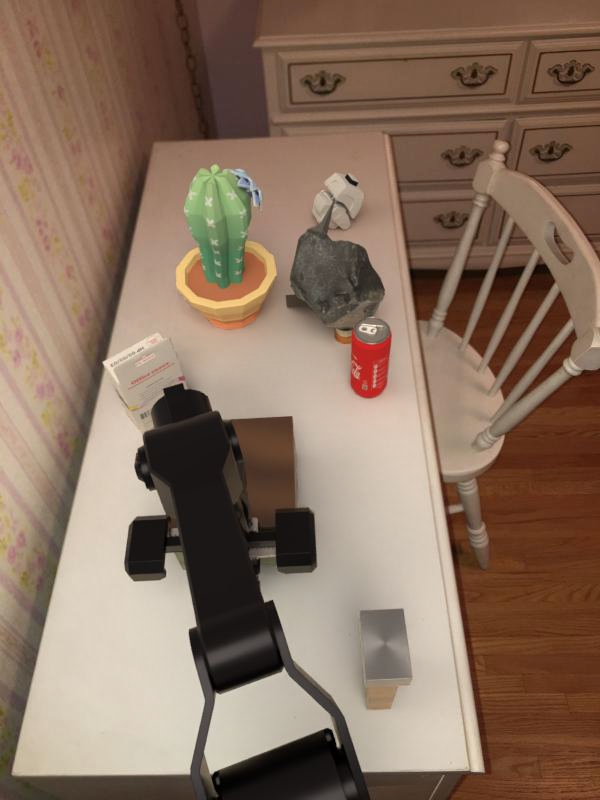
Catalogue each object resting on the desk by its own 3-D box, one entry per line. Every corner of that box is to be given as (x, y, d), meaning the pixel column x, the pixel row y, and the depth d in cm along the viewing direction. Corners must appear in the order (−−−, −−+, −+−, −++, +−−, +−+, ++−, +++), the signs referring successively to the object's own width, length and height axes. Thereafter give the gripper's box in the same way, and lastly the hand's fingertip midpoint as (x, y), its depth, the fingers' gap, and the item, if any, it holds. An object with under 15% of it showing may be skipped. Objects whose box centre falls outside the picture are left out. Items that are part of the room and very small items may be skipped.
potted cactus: (273, 348, 98) (256, 213, 77) (174, 342, 99) (133, 208, 79) (287, 277, 107) (275, 139, 86) (196, 272, 108) (163, 136, 88)
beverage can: (381, 404, 91) (386, 349, 81) (345, 395, 92) (346, 340, 82) (390, 376, 93) (396, 319, 84) (355, 368, 95) (357, 311, 85)
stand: (390, 708, 68) (400, 679, 57) (366, 710, 68) (372, 681, 57) (385, 659, 71) (393, 622, 60) (362, 660, 71) (367, 624, 60)
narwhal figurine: (292, 368, 95) (284, 279, 81) (285, 295, 104) (277, 202, 90) (388, 359, 95) (397, 268, 81) (373, 287, 104) (379, 193, 90)
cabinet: (300, 557, 78) (296, 525, 71) (180, 563, 78) (163, 532, 71) (296, 454, 87) (292, 415, 79) (188, 459, 87) (174, 422, 79)
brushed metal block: (409, 685, 57) (412, 678, 55) (364, 687, 57) (365, 680, 55) (401, 617, 60) (403, 608, 58) (358, 619, 60) (359, 610, 58)
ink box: (176, 383, 95) (153, 313, 83) (193, 404, 92) (172, 336, 80) (125, 413, 92) (93, 345, 80) (141, 436, 89) (112, 369, 77)
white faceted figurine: (340, 240, 114) (375, 193, 109) (313, 229, 110) (348, 180, 105) (326, 220, 117) (360, 175, 112) (300, 209, 113) (333, 161, 108)
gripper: (309, 431, 63) (314, 504, 76) (120, 441, 63) (156, 512, 76) (315, 537, 56) (319, 597, 69) (103, 548, 57) (146, 606, 69)
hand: (233, 574), depth 71 cm, fingers closed
